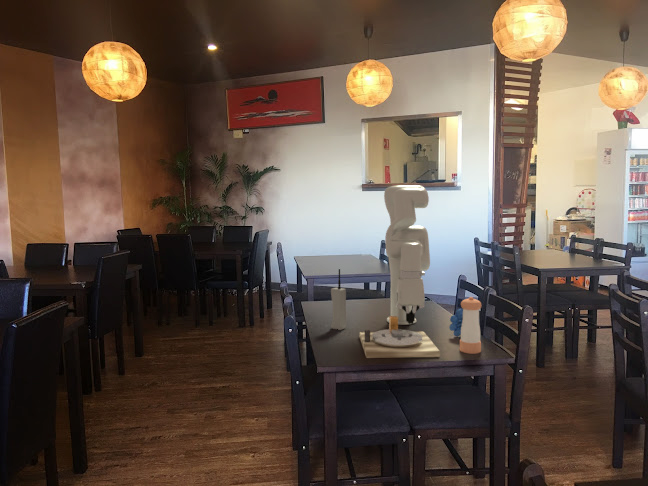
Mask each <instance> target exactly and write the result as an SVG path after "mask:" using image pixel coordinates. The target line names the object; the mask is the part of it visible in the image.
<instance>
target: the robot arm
mask: <svg viewBox="0 0 648 486" xmlns="http://www.w3.org/2000/svg"><path fill="white" fill-rule="evenodd" d="M383 193H384V195H383V196H384V197H383V198H384V205H385V207H386V211H387V213H388V215H389V220H390V225H389V226H388V227H387V230H386V232H385V239H384V240H385V242H384V243H385V252H386V253H385V254H386V256H387V257H388V265H389V273H390V316H397V317H398V326H399V325H400V326H401V325H402V326H403V325H414V324H415V323H417V319H416V318H415V315H416V312H417V311H419V309H424V308H425V299H426V298H425V286H424V280H423V278H422V277H423V276H425V274H426V271H428V270H429V269H430V265H431V254H430V244H429V243H430V242H429V241H430V240H429V233H428V230H427V228H426V227H425V226H422V225H414V224H416V221H417V218H416V217H417V216H416V209H425V208H427V207H428V205H429V201H430V200H429V194H428V191H427V189H426V188H425V187H424V186H423V185H392V186H388V187H386V188H385V189H384V192H383ZM386 322H387V323H389V316H388V317H386Z"/></svg>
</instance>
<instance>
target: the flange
mask: <svg viewBox="0 0 648 486" xmlns="http://www.w3.org/2000/svg"><path fill="white" fill-rule="evenodd" d="M388 317H389V322H388V323H389V324H388V327H389V328H388V329H381V330H378V331H373V332H374V333H373V334H372V340H373V342H375V343H377V344H380V345H384V346H390V347H410V346H415V345H418V344H420V343H421V342H422V335H421V334H419V333H417V331H413V330H409V329H401V328H399V325H398V317H397V316H391V315H389V316H388Z"/></svg>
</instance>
